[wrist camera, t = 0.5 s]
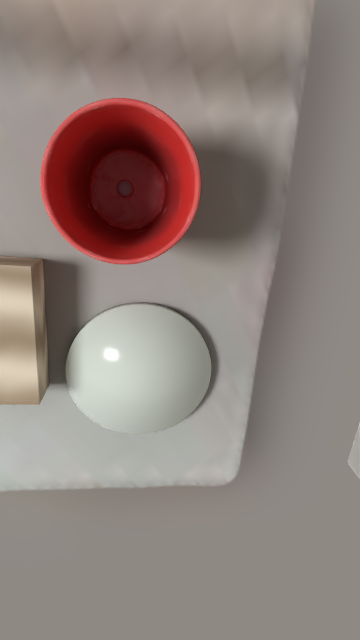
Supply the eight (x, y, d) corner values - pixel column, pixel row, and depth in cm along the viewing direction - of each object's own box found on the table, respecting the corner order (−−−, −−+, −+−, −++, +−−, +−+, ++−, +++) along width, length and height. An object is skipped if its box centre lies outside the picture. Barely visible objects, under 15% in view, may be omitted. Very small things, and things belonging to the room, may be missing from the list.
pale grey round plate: (65, 298, 35) (63, 301, 34) (217, 305, 37) (219, 308, 36) (69, 429, 40) (67, 434, 40) (202, 428, 43) (203, 434, 42)
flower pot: (55, 133, 30) (19, 106, 21) (178, 120, 31) (194, 88, 22) (80, 253, 34) (59, 274, 25) (190, 239, 35) (208, 254, 26)
